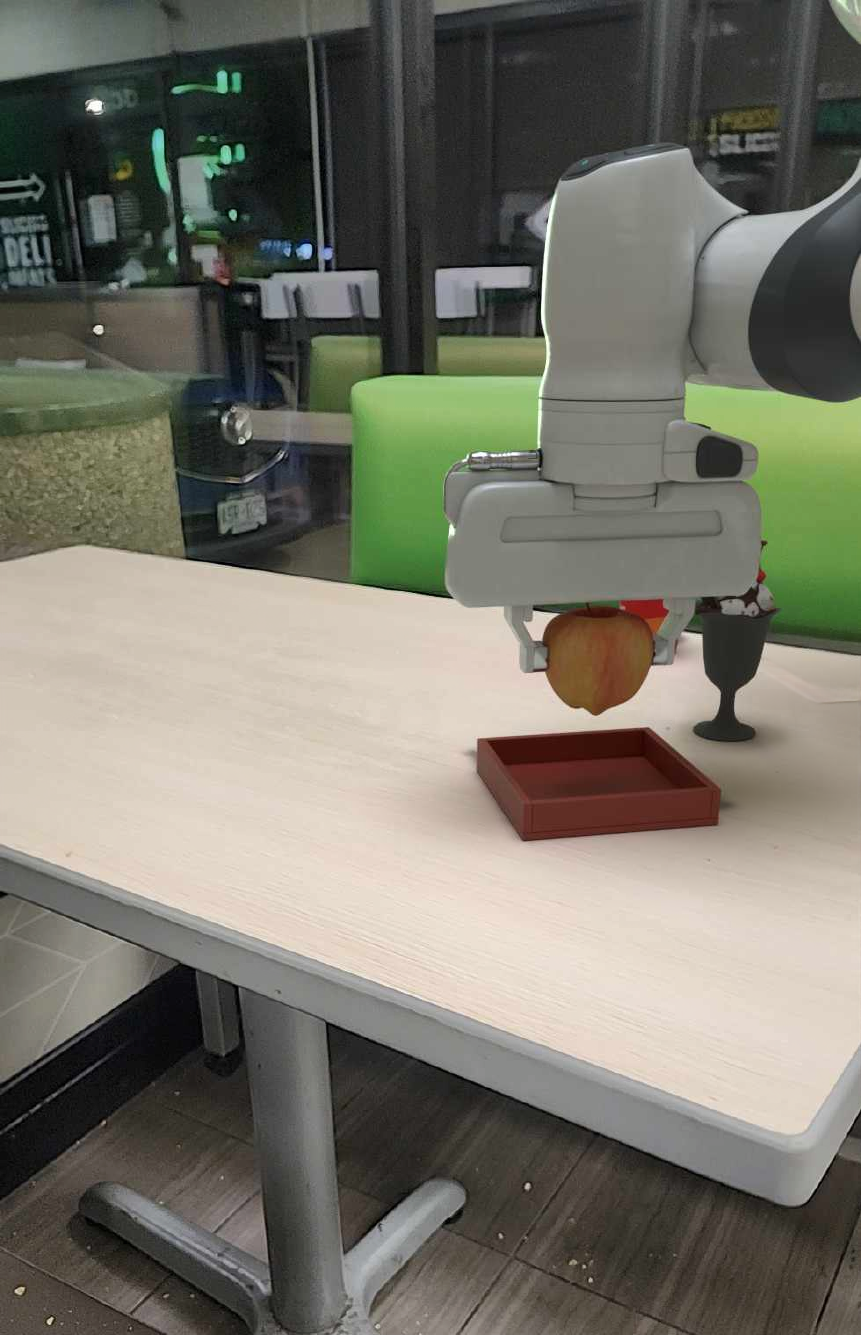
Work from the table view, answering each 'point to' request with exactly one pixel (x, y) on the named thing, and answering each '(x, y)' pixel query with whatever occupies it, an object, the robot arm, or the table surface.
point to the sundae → (733, 651)
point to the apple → (597, 656)
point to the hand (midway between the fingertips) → (596, 667)
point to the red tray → (595, 783)
